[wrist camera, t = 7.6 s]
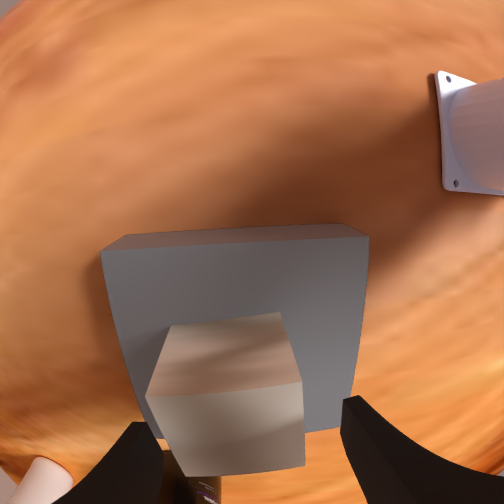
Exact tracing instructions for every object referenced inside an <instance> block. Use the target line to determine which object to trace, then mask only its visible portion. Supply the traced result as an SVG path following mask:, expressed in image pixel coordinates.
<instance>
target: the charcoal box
mask: <svg viewBox="0 0 504 504" xmlns="http://www.w3.org/2000/svg"><path fill="white" fill-rule="evenodd" d="M369 244H370V236H368V235H366V234H364V233H362V232H360V231H358V230H356V229H354V228H352V227H350V226H348V225H345V224H343V223H334V224H306V225H282V226H261V227H241V228H223V229H206V230H189V231H174V232H159V233H145V234H132V235H125V236H123V237H122V238H120V239H118V240H117V241H115V242H114V243H112V244H110V245H109V246H107V247H106V248H104V249H103V250H101V251H100V255H101V261H102V267H103V273H104V278H105V284H106V289H107V293H108V298H109V303H110V307H111V312H112V316H113V320H114V324H115V328H116V332H117V336H118V340H119V344H120V347H121V351H122V354H123V358H124V361H125V365H126V368H127V371H128V374H129V378H130V381H131V384H132V387H133V390H134V393H135V396H136V398H137V401H138V404H139V407H140V410H141V412H142V415H143V418H144V420H145V422H147V423H148V425H149V427H150V429H151V431H152V433H153V435H154V437H155V438H158V439H165V438H164V436H163V434H162V432H161V430H160V428H159V426H158V424H157V422H156V420H155V418H154V416H153V413H152V411H151V409H150V407H149V405H148V403H147V400H146V398H145V395H146V392H147V389H148V386H149V383H150V381H151V378H152V375H153V372H154V370H155V367H156V364H157V361H158V359H159V356H160V353H161V351H162V348H163V345H164V343H165V340H166V337H167V335H168V332H169V330H170V327H171V326H172V325H181V324H190V323H199V322H208V321H216V320H223V319H231V318H239V317H246V316H253V315H260V314H267V313H274V312H280V313H281V317H282V320H283V323H284V326H285V329H286V332H287V335H288V338H289V341H290V345H291V348H292V351H293V354H294V357H295V360H296V363H297V366H298V369H299V373H300V376H301V379H302V386H303V407H304V433H307V432H314V431H320V430H326V429H331V428H337V427H341V417H342V404H343V399H346V398H350V395H351V390H352V385H353V379H354V374H355V368H356V362H357V356H358V350H359V343H360V337H361V329H362V322H363V314H364V305H365V296H366V285H367V274H368V260H369Z"/></svg>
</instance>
